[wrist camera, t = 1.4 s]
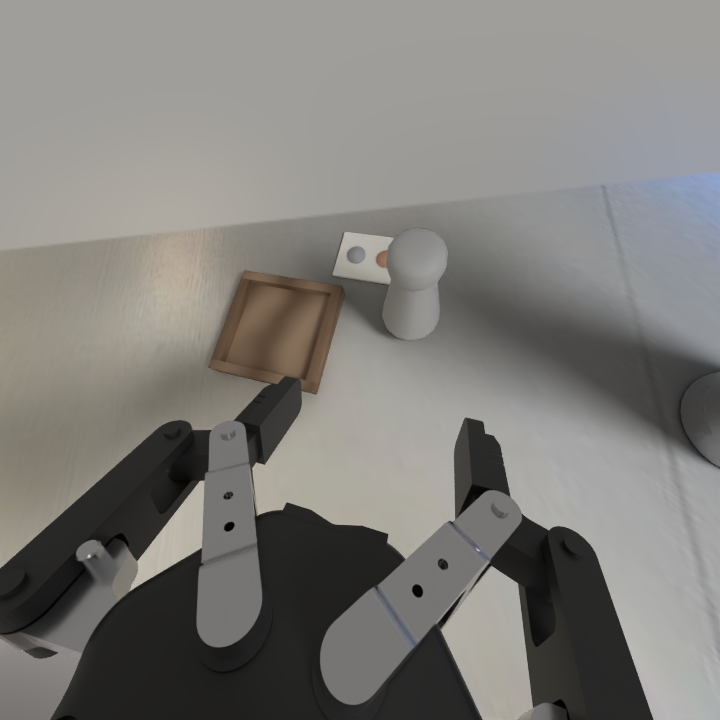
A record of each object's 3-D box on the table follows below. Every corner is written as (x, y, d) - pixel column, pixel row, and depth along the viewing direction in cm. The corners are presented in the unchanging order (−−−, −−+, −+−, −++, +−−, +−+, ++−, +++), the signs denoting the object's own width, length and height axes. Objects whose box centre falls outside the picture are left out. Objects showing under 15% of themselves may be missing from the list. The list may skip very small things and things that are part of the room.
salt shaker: (386, 296, 33) (380, 210, 21) (438, 299, 32) (464, 211, 20) (380, 344, 32) (369, 284, 19) (434, 349, 31) (459, 289, 18)
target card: (409, 241, 35) (409, 238, 34) (399, 286, 33) (399, 284, 33) (345, 233, 36) (344, 230, 36) (332, 276, 35) (331, 273, 34)
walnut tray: (344, 294, 34) (341, 286, 32) (316, 394, 31) (312, 391, 29) (251, 278, 36) (244, 270, 34) (218, 371, 33) (208, 367, 32)
